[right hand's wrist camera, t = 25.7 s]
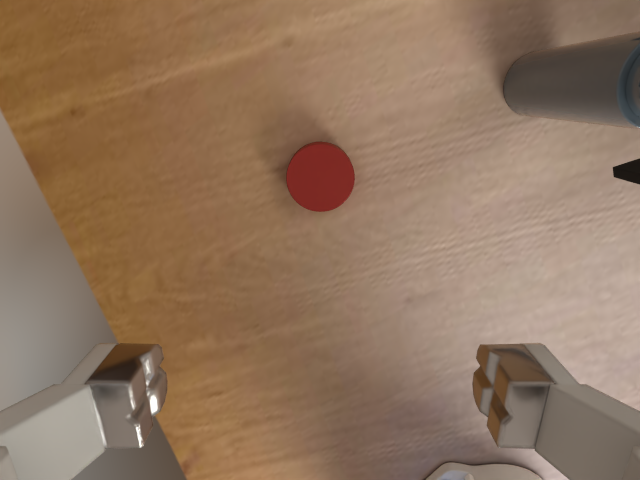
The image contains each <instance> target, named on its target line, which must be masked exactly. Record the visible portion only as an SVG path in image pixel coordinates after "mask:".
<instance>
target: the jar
mask: <svg viewBox="0 0 640 480" xmlns="http://www.w3.org/2000/svg"><path fill="white" fill-rule="evenodd" d="M504 97H505V100H506V102H507V104H508V106H509V107H510V108H511V109H512V110H513V111H514V112H516V113H517V114H520V115H523V116H530V117H538V118H547V119H556V120H565V121H573V122H582V123H591V124H599V125H608V126H617V127H626V128H634V129H640V31H639V32H634V33H629V34H624V35H618V36H613V37H608V38H603V39H597V40H592V41H587V42H582V43H576V44H571V45H566V46H561V47H556V48H550V49H545V50H540V51H535V52H531V53H528V54H526V55H524V56H522V57H521V58H519V59H518V60H517V61H516V62H515V63H514V64H513V65H512V67H511V68H510V69H509V71H508V73H507V75H506V78H505V81H504Z"/></svg>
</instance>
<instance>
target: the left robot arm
mask: <svg viewBox="0 0 640 480" xmlns="http://www.w3.org/2000/svg"><path fill="white" fill-rule="evenodd" d="M613 173H614V177H616V178H619V179H623V180H626V181H630V182H633V183H637V184H640V159H637V160H634V161H631V162H627V163H624V164H621V165H618V166H615V167H613Z"/></svg>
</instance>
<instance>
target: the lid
mask: <svg viewBox="0 0 640 480" xmlns="http://www.w3.org/2000/svg"><path fill="white" fill-rule="evenodd" d="M286 180H287V186H288V189H289V192H290V194H291V196H292V197H293V198H294V200H295V201H296V202H297V203H298V204H300V205H301V206H303V207H304V208H306V209H309V210H312V211H318V212H322V211H329V210H332V209H335V208H337V207H338V206H340V205H341V204H343V203H344V202H345V201H346V200H347V198H348V197H349V196H350V194H351V192H352V189H353V186H354V180H355V178H354V170H353V166H352V164H351V162H350V159H349V158H348V156H347V155H346V153H345V152H344V151H343V150H342V149H340V148H339V147H337V146H336V145H334V144H331V143H327V142H314V143H310V144H307V145H305V146H304V147H302V148H301V149H299V150H298V151H297V152H296V153H295V155H294V156H293V158H292V159H291V162H290V164H289V166H288V169H287V176H286Z"/></svg>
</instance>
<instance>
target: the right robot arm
mask: <svg viewBox="0 0 640 480" xmlns="http://www.w3.org/2000/svg"><path fill="white" fill-rule="evenodd" d="M163 359H164V357H163V352H162V347H161V346H160V345H159V344H130V343H120V344H119V343H100V344H97V345H95V346H94V347H93V349H92V350H91V351H90V352H89V353H88V354H87V355H86V356H85V357H84V359H83V360H82V361H81V362H80V363H79V364H78V365H77V367H76V368H75V369H74V370H73V371H72V372H71V373H70V374H69V375H68V376H67V378H66V379H65V380H64V381H63V382H62V383H61V384H58V385H52V386H50V387H48V388H46V389H44V390H42V391H40V392H38V393H36V394H34V395H32V396H30V397H28V398H26V399H24V400H22V401H20V402H18V403H16V404H14V405H12V406H10V407H8V408H6V409H4V410H2V411H0V480H71V479H72V478H73V477H74V476H76V475H77V474H78V473H79V472H80V471H81V470H83V469H84V468H85V467H86V466H87V465H89V464H90V463H91V462H92V461H93V460H95V459H96V458H97V457H98V456H99V455H101V454H102V453H103V452H104V451H105V449H111V448H142V446H143V445H144V443H145V441H146V439H147V437H148V435H149V433H150V431H151V429H152V427H153V421H152V417H153V416H154V415H156V414H157V413H159V412H160V411H161V409H162V407H163V404H164V402H165V398H166V394H167V375H166V372H165V371H164V370H163V369H162V368H161V367H160V364H161V362H162V361H163ZM476 359H477V361H478V362H479V364H480V367H479V368H478V369H477V370H476V371H475V372H474V376H473V395H474V398H475V402H476V405H477V407H478V409H479V411H480V412H481V413H483V414H484V415H486V416H487V417H488V421H487V427H488V429H489V431H490V433H491V435H492V437H493V439H494V441H495V443H496V444H497V446H498V448H529V449H535V451H536V452H537V453H538V454H540V455H541V456H542V457H543V458H544V459H546V460H547V461H548V462H549V463H550V464H551V465H553V466H554V467H555V468H556V469H557V470H559V471H560V472H561V473H562V474H563V475H565V476H566V477H567V478H568V479H569V480H640V411H638V410H636V409H634V408H632V407H630V406H628V405H626V404H624V403H622V402H620V401H618V400H616V399H614V398H612V397H610V396H608V395H606V394H604V393H602V392H600V391H598V390H596V389H594V388H592V387H590V386H588V385H583V384H579V383H578V382H577V381H576V380H575V379H574V378H573V376H572V375H571V374H570V373H569V372H568V371H567V370H566V369H565V368H564V366H563V365H562V364H561V363H560V362H559V361H558V360H557V359H556V357H555V356H554V355H553V354H552V353H551V352H550V351H549V350H548V349H547V347H546V346H545V345H543V344H541V343H523V344H488V345H480V346H479V348H478V351H477V356H476ZM426 480H543V479H542V478H540V477H539V476H538V475H537V474H535V473H534V472H532V471H530V470H528V469H525V468H522V467H519V466H515V465H509V464H487V465H477V466H471V465H466V464H461V463H454V462H449V463H445V464H443V465H441V466H440V467H439V468H438V469H437V470H436V471H434V472H433V473H432V474H431V475H430V476H429V477H428V478H427V479H426Z"/></svg>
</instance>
